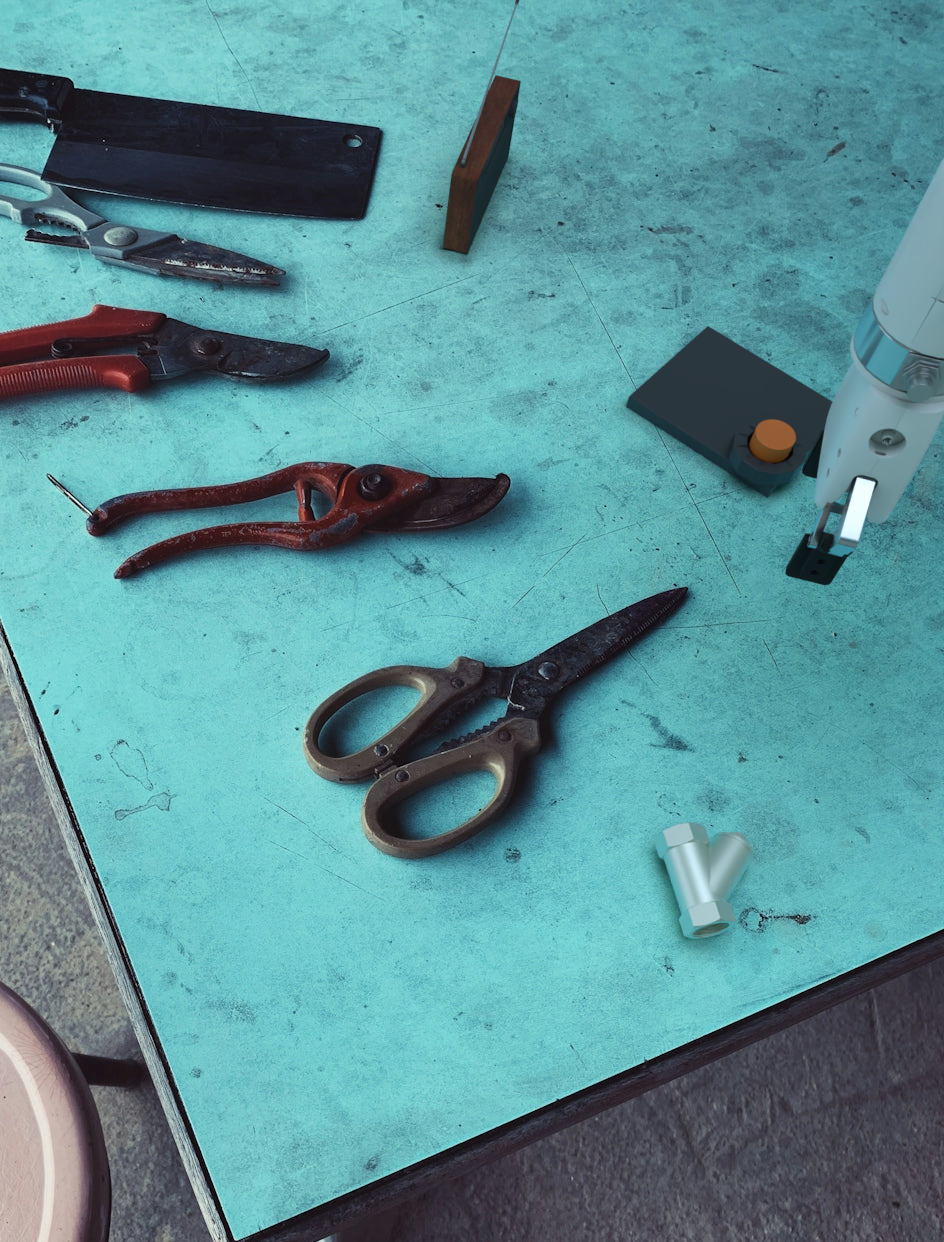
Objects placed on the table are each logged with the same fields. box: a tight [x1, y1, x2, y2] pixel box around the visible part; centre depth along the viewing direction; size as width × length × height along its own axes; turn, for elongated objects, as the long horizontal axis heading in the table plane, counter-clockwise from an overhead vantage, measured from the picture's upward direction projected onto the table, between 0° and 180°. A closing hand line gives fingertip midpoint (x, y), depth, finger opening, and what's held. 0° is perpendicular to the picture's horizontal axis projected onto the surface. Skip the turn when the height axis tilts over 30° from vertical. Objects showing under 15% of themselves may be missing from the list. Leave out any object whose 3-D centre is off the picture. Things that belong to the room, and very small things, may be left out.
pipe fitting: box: [653, 821, 755, 940], centre depth 89 cm, size 8×4×7 cm
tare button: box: [749, 419, 796, 463], centre depth 107 cm, size 4×4×2 cm
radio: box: [442, 0, 522, 254], centre depth 120 cm, size 19×3×15 cm, turn 162°
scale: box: [625, 325, 833, 498], centre depth 112 cm, size 17×14×3 cm
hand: (814, 526), depth 87 cm, fingers open, 9 cm apart
